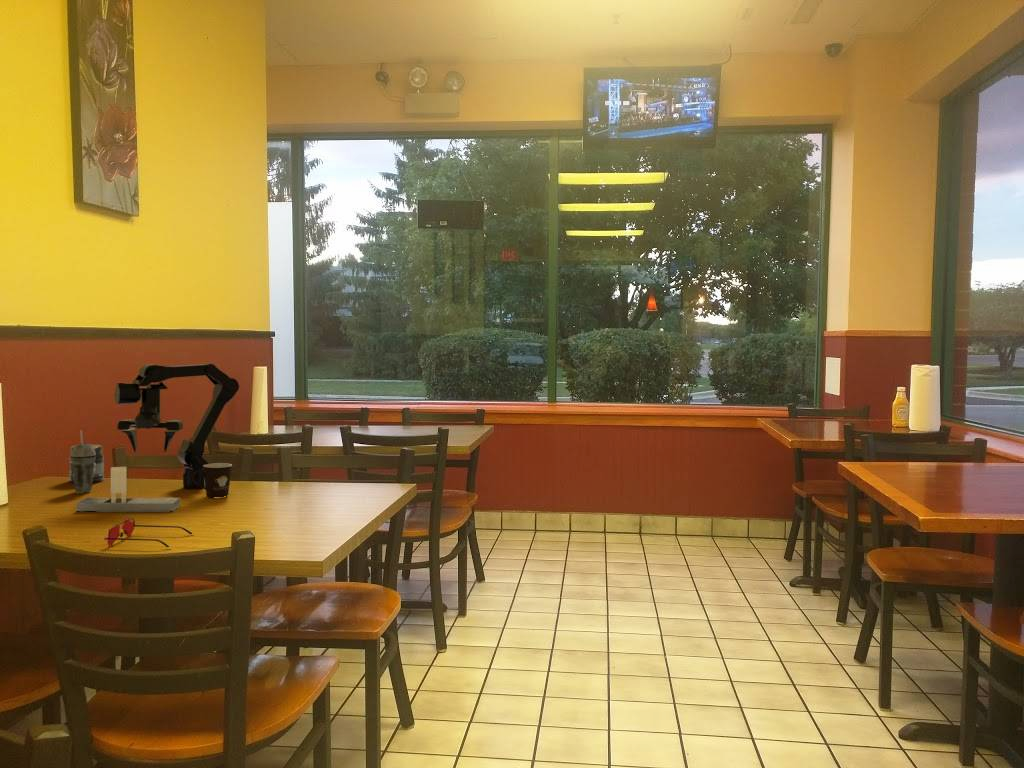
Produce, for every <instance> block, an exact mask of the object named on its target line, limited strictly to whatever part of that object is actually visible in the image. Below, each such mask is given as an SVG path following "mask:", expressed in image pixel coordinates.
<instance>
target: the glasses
mask: <svg viewBox="0 0 1024 768" xmlns="http://www.w3.org/2000/svg"><path fill="white" fill-rule="evenodd" d="M131 520H132V521H131ZM120 525H122V527H121V526H120ZM135 527H137V528H141V527H142V528H170V529H171V528H175V529H181V530H184V531H185V532H186V533H188V534H189V535H190V534H192V533H193V532H191V531H190V530H188V529H187V528H185V527H183V526H177V525H174V526H173V525H150V524H147V525H145V524H144V525H143V524H136V522H135V519H134V518H129V519H125V520H123V522H121V523H117V524H115V526H112V527H111V528H108V532H107V533H108V534H107V536H104V538H103V540H104V541H107V543H106V544H108V546H109V547H111V546H110V545H112V546H113V545H114V543H115V541H117V540H119V541H146V542H147V541H150V542H152V541H154V542H158V543H161V544H162V545H164V547H166V548H167V547H169V545H168V544H167V543H166V542H164V541H163V540H160V539H156V538H155V539H153V538H130V536H129V535H131V536H132V534H133V532H134V530H135ZM120 529H122V532H120ZM124 535H125V536H129V537H127V538H124V537H123V536H124Z"/></svg>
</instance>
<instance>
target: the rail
mask: <svg viewBox="0 0 1024 768" xmlns="http://www.w3.org/2000/svg"><path fill="white" fill-rule="evenodd" d="M179 506H180V507H181V497H126V503H121V497H116V503H111V497H86V498H84V499H82V500H80V501H78V502H77V503H76V506H75V507H76V511H81V512H80V513H83V512H82V511H96V512H95V513H171V512H170V511H173V512H175V511H176V510H177V509H178V508H180V507H179ZM176 508H177V509H176ZM175 509H176V510H175ZM174 510H175V511H174ZM97 511H98V512H97Z"/></svg>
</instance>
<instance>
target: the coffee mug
mask: <svg viewBox="0 0 1024 768" xmlns="http://www.w3.org/2000/svg"><path fill="white" fill-rule="evenodd" d="M232 468H233V464H232V463H224V462H217V463H209V464H206V465H203V470H204V472H202V471H196V472H195V473H193V475H192V480H193V481H194V483H196V484H197V485H198V486H200V487H202V488H201V489H204V490H205V495H206V498H207V497H209V498H208V499H211V498H214V497H224V496H227V495H228V496H229V493H230V492H229V491H230V485H231V477H232ZM197 473H202V474H203V476H204V479H205V487H204V486H202V485H200V484H198V483H197V482H196V481H195V480H194V476H195V474H197Z"/></svg>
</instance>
